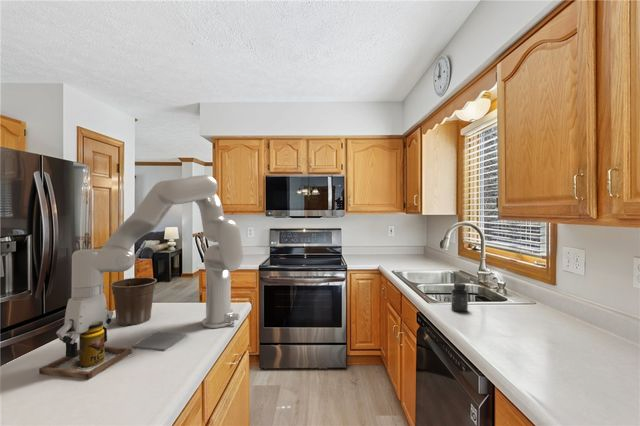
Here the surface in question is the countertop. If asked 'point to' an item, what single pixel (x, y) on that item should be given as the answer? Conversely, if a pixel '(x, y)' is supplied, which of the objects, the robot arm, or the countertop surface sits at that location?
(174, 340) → the mat
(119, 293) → the plant pot
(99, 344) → the condiment
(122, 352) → the wooden square frame
